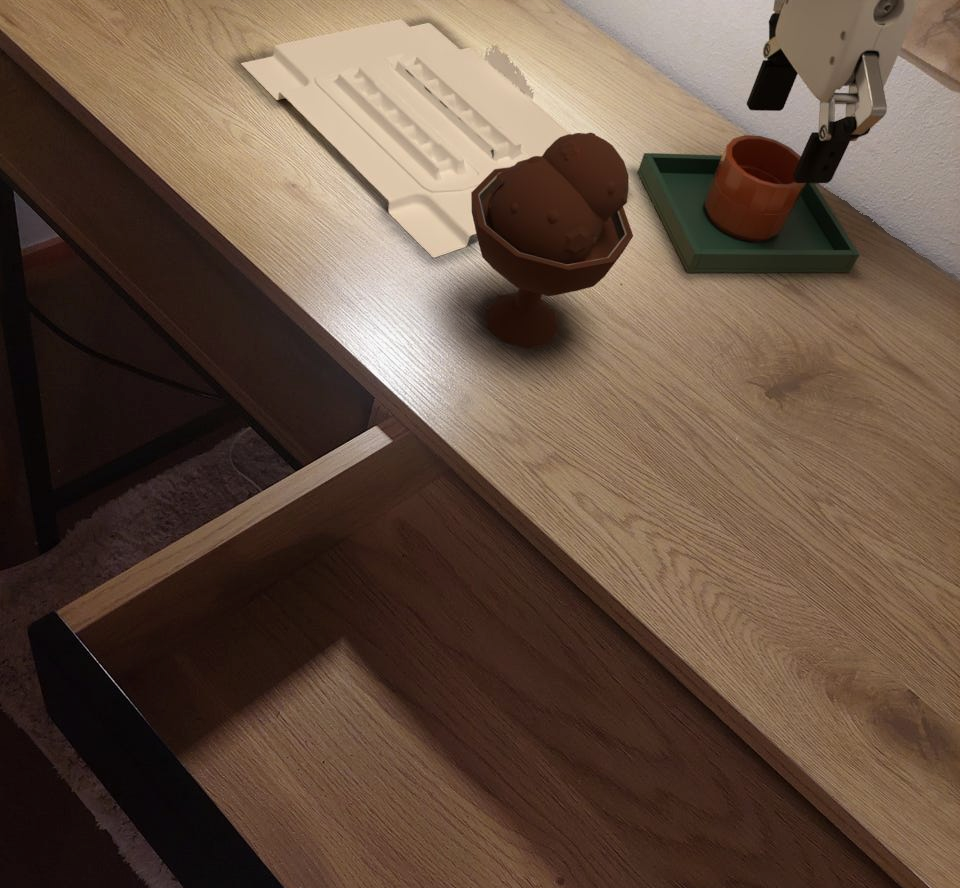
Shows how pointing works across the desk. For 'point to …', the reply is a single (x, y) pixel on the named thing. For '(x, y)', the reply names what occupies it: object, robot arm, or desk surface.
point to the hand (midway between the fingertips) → (786, 143)
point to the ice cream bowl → (550, 230)
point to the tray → (413, 117)
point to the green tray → (706, 249)
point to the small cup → (753, 188)
